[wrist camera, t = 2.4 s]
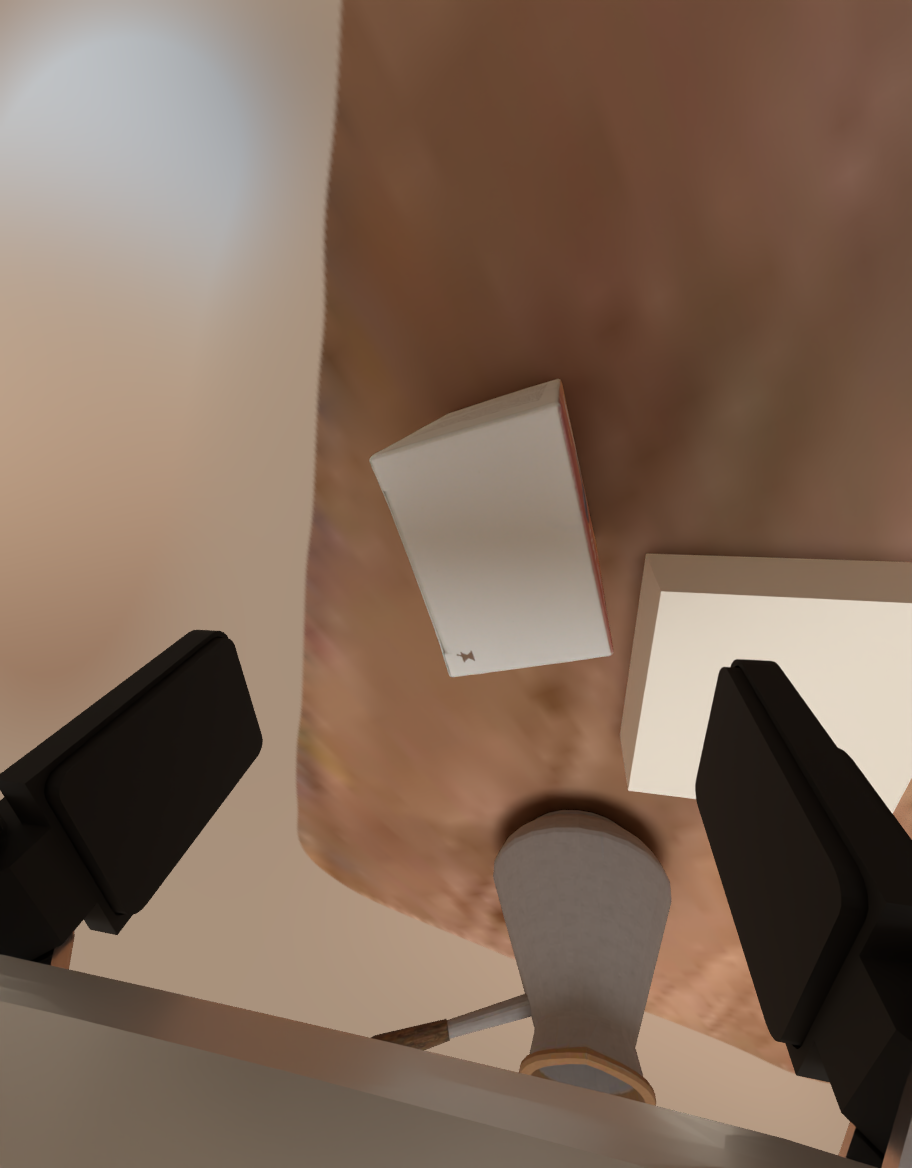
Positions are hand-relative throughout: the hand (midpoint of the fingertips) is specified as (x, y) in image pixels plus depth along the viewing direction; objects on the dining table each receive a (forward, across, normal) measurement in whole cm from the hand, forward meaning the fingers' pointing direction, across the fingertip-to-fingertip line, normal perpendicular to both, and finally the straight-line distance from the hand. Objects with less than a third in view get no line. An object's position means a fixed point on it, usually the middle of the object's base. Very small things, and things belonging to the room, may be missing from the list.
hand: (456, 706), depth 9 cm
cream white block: (+17, -12, +9) cm, 23 cm away
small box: (+16, 0, -1) cm, 16 cm away
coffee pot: (+17, +1, +26) cm, 31 cm away
